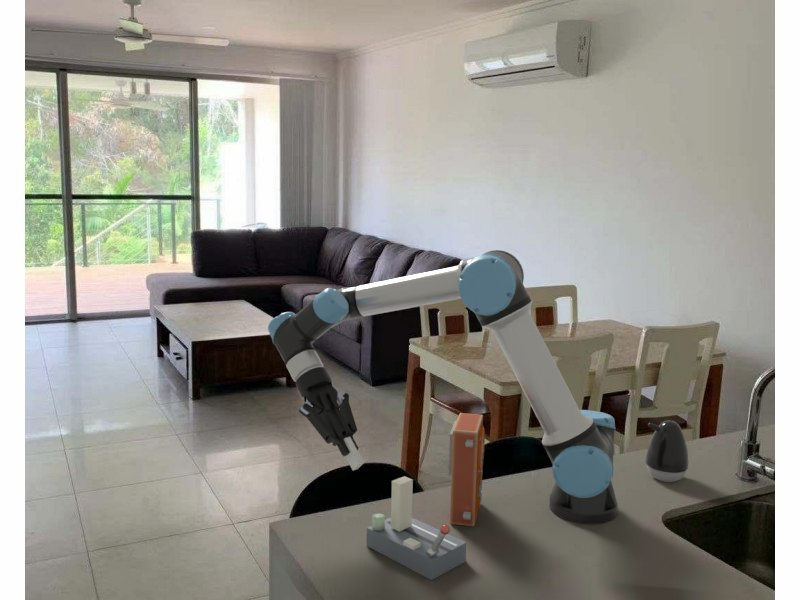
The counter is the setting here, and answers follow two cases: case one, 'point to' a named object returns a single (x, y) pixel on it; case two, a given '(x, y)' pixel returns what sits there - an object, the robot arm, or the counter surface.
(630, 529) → the counter surface
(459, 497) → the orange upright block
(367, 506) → the counter surface
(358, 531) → the counter surface
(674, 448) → the pump dispenser
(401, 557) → the switch console
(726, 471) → the counter surface
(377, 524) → the push button
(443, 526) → the toggle lever
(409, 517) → the cream rectangular block
